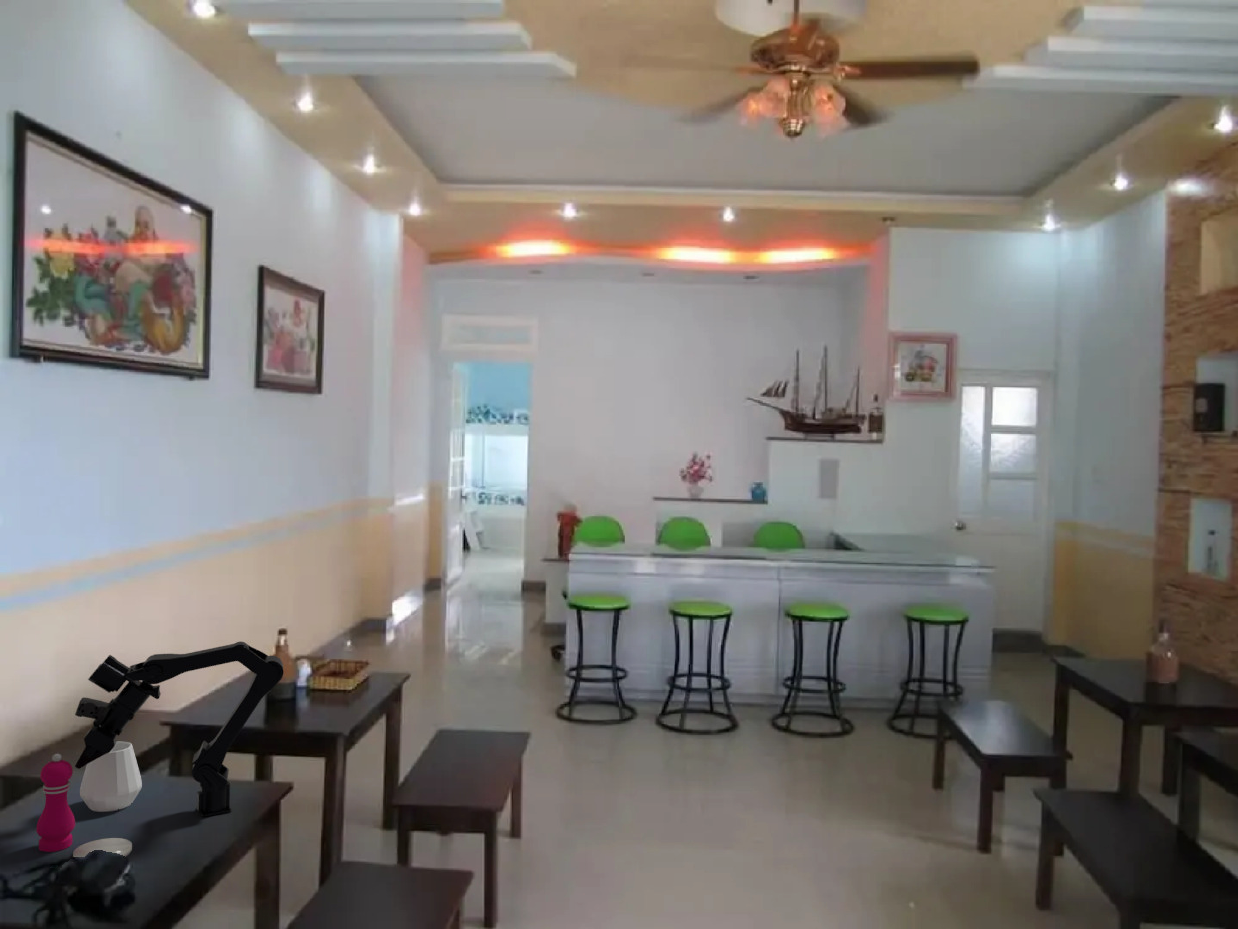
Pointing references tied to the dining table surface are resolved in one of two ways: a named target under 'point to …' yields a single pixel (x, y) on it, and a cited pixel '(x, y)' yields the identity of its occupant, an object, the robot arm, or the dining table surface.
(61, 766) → the pepper mill
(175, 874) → the dining table surface
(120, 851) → the saucer
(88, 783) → the cup
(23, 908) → the dining table surface
